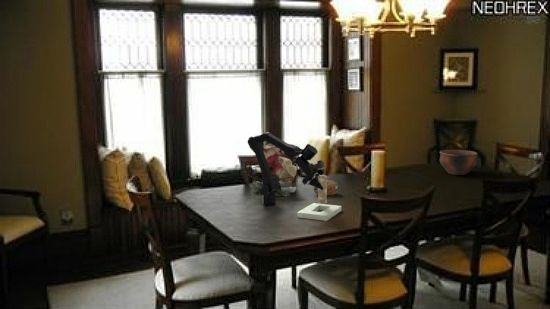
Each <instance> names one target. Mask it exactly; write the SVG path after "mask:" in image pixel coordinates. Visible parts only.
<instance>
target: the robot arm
mask: <svg viewBox="0 0 550 309" xmlns="http://www.w3.org/2000/svg"><path fill="white" fill-rule="evenodd" d="M264 142H265V143H266V142H267V143H269V144H270V143H271V144H272V145H274V146H276V147H277V148H279V149H280V151H282V152H283V154H284V155H285V156H286V158H287V157H288V159H292V160H291V161H292V165H294V166H295V165H296V167H297V168H299V169H300V170H301V171H300V173H302V174H304V175H305V176H304V177H303V178H302V179H301V183H302V184H303V185H304V186H305V185H310V186H312V187H313V188H314V187H316V188H319V189H321V190H323V189H324V188H323V187H322V185H321V184H320V182H319V181H318V176H319V175H324V174H325V173H326V168H325V167H326V166H325V162H324V161H323V160H322V159H320V160H317V163H315V164H314V163H311V162H310V161H312V160H313V158H314V157H315V156H316V155H317V154H318V149H317V148H316V147H315V146H313V145H311V144H310V143H308V144H306V145H305V147H304V148H300V146H298V145H295V144H292V143H291V144H290V143H288V142H285V141H284V140H283V139H281V138H279V137H277V136H275V135H273V133H271V132H264V133H263V134H260V135H253V136H250V137H248V139H247V145H248V146H249V149H250V150H251V151H252V152H253V153H254V156H256V157H255V158H256V160H257V164H258V166H259V167H260V168H259V170H260V172H261V176H262V182H261V183H263V188H262V189H261V190H260V191H259V192H260V195H259V196H261V195H262V196H261V197H262V198H261V199H262V200H261V201H262V202H261V205H262V206H264V207H270V206H276V196H274V193H276V190H277V189H278V187H279V185H278V183H280V181H279V182H278V181H277V177H276V176H275V177H273V176H272V174H271V172H270V169H269V166H268V163H267V160H266V157H265V154H264V151H263V147H264V146H265V143H264ZM264 148H265V147H264ZM294 158H295V159H294Z"/></svg>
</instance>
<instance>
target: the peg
mask: <svg viewBox="0 0 550 309" xmlns="http://www.w3.org/2000/svg"><path fill="white" fill-rule="evenodd" d="M318 181H319V182H320V184H321V185H322V187H323V188H324V189H323V190H321V189H319V188H318V195H317V201H318V202H317V203H318V204H327V203H328V197H327V196H328V195H327V181H328V179H327V175H319V176H318Z"/></svg>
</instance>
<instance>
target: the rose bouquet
mask: <svg viewBox="0 0 550 309" xmlns="http://www.w3.org/2000/svg"><path fill="white" fill-rule="evenodd" d="M263 151H264V154H265V157H266V160H267V163H268V166H269V169H270V172H271V174H272V176H273V177H275V176H276V177H277V181H278V182H279V183H278V185H279V187H278V189H277V190H276V193H274V196H275V197H288V196H291V194H292V193H295V192H296V189H297V186H294V187H293V186H289V187H282V186H281V184H280V180H281V181H282V182H283V183H285V184H286V185H288V184H289V182H293V181H294V180H295V178H296V176H297V171H298V166H297V165H296V166H295V165H292V160H291V158H287V157H283V156H281V154H282V152H281V149H279V148H277V147H276V146H274V145H272V144H271V143H269V144H266V145H265V147H263ZM254 157H255V158H256V155H254ZM255 168H259V169H260V167H259V165H255V166H253V167H252V169H255ZM255 183H256V186H253V188H251V189H250V191H249V195H251V194H252V195H251V196H255V195H254V194H258V195H257V196H261V197H262V195H260V192H259V191H260V190H261V189H262V188H263V183H262V182H260V181H255Z"/></svg>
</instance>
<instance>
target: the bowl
mask: <svg viewBox="0 0 550 309" xmlns="http://www.w3.org/2000/svg"><path fill="white" fill-rule="evenodd" d="M439 154H440V157H439V162H440V165H441V166H442V168H444V169H445V171H446V172H447V173H448V174H449V175H454V176H464V175H467V174H468V173H470V172H471V171H472V169H474V167H475V166H476V165H477V158H478V152H477V151H472V150H465V149H464V150H462V149H445V150H444V149H443V150H440V151H439Z"/></svg>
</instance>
